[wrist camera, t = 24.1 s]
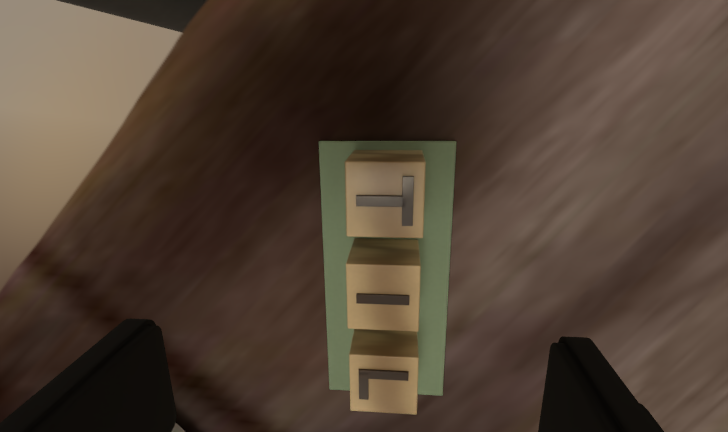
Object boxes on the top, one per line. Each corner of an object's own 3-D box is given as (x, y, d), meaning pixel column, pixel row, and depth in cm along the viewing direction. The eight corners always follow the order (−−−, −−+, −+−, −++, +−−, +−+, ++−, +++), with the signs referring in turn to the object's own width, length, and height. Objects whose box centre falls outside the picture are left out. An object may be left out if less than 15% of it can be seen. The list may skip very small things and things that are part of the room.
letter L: (357, 368, 36) (349, 412, 31) (356, 317, 34) (348, 356, 29) (415, 371, 35) (416, 417, 30) (416, 319, 34) (418, 359, 29)
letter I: (355, 295, 34) (347, 330, 29) (354, 237, 32) (345, 265, 27) (416, 297, 33) (418, 333, 28) (418, 239, 32) (421, 266, 27)
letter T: (354, 214, 32) (346, 238, 27) (353, 149, 30) (343, 161, 25) (420, 215, 31) (423, 239, 26) (422, 149, 30) (425, 161, 25)
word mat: (330, 386, 37) (329, 389, 37) (319, 140, 31) (318, 141, 30) (442, 392, 36) (442, 395, 36) (455, 140, 30) (456, 141, 29)
